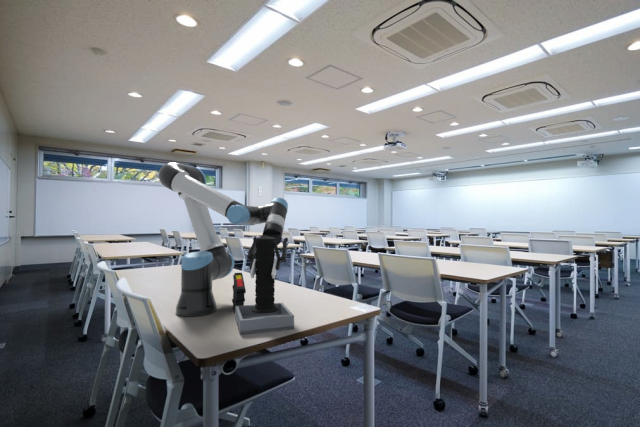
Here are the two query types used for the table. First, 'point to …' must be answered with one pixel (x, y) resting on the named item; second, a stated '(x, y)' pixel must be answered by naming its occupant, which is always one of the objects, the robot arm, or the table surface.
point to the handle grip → (264, 276)
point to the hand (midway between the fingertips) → (262, 276)
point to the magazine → (238, 290)
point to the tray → (263, 319)
